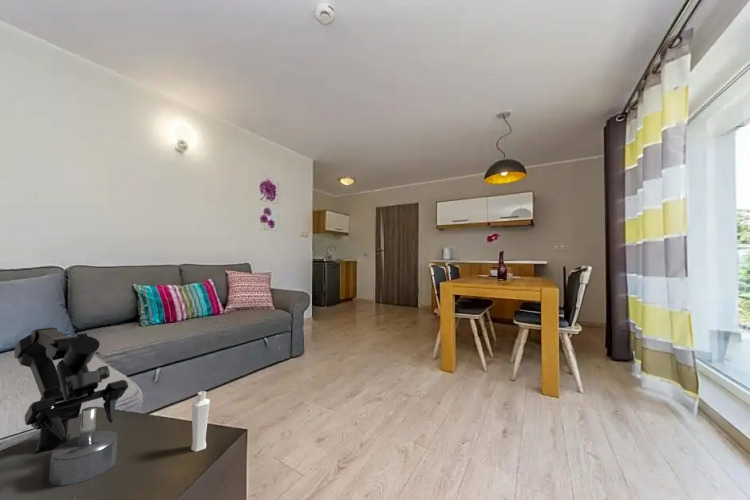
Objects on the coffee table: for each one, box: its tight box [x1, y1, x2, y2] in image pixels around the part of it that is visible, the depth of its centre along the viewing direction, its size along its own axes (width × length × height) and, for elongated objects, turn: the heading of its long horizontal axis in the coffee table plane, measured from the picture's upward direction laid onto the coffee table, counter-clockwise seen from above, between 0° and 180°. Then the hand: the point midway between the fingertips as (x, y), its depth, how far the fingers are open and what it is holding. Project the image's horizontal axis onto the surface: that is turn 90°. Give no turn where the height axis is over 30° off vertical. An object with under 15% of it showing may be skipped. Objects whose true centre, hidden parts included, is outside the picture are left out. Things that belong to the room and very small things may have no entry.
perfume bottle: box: [190, 390, 211, 452], centre depth 86 cm, size 5×4×15 cm
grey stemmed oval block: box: [48, 406, 119, 487], centre depth 76 cm, size 12×12×14 cm
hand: (88, 429), depth 76 cm, fingers open, 9 cm apart
